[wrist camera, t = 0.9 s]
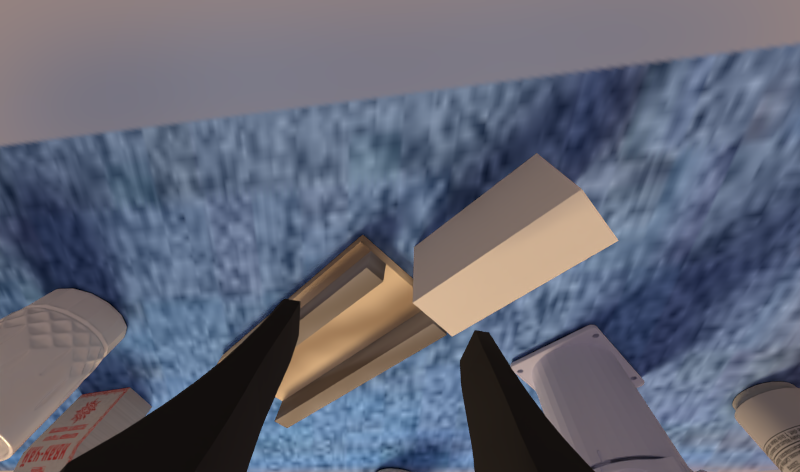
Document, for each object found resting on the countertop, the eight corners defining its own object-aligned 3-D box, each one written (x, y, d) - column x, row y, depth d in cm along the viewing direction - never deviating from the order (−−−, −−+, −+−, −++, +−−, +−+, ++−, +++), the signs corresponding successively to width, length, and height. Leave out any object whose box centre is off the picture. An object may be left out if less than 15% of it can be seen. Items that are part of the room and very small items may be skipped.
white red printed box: (152, 406, 35) (64, 520, 26) (105, 412, 36) (7, 523, 28) (130, 387, 33) (28, 502, 25) (82, 394, 34) (-31, 506, 26)
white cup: (51, 331, 29) (-104, 446, 21) (31, 269, 25) (-169, 378, 17) (137, 354, 30) (25, 472, 22) (131, 298, 26) (-10, 414, 18)
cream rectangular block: (565, 192, 20) (618, 240, 14) (444, 275, 23) (452, 336, 18) (536, 152, 18) (581, 189, 13) (414, 246, 22) (412, 303, 17)
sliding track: (451, 312, 25) (455, 341, 23) (305, 402, 33) (295, 432, 30) (362, 234, 22) (355, 258, 19) (223, 354, 29) (204, 383, 27)
